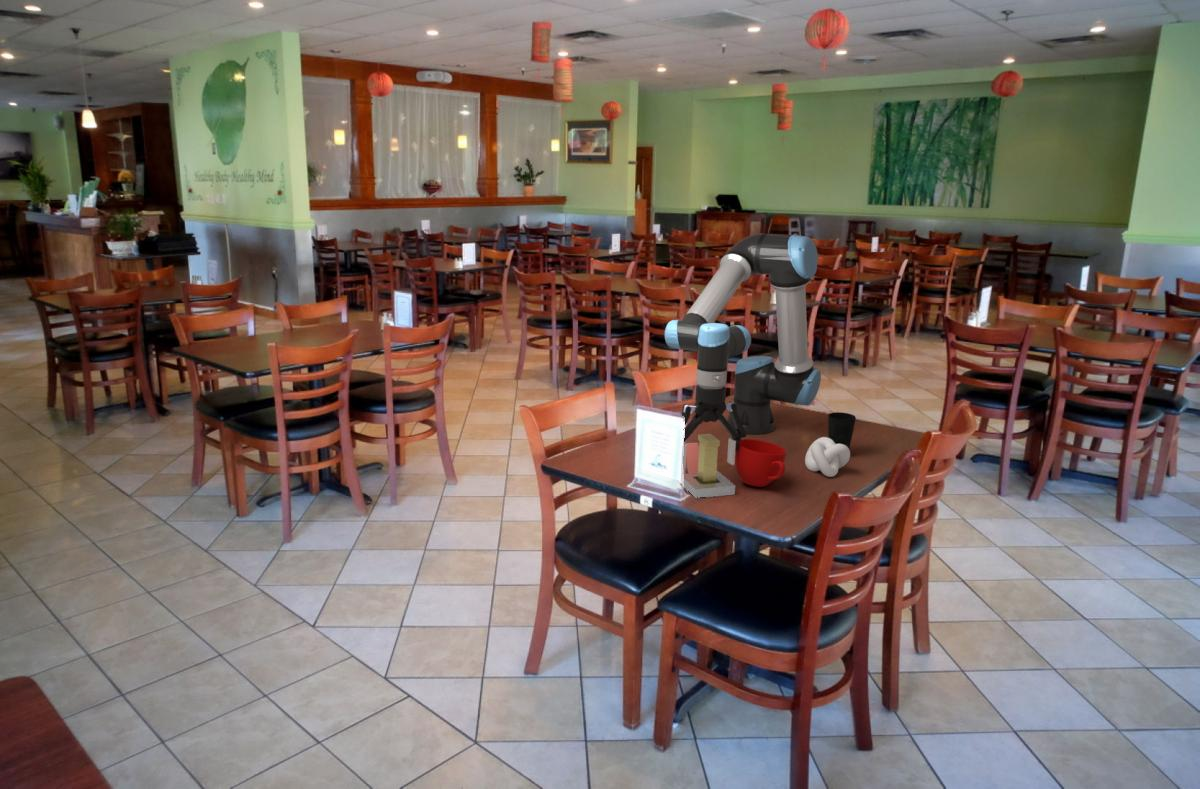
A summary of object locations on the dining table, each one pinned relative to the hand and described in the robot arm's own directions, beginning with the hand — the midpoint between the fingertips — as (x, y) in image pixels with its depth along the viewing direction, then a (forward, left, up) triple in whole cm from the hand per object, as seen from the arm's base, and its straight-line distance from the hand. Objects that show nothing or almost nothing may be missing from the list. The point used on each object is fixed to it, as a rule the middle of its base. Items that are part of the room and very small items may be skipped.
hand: (706, 465), depth 209 cm
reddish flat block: (-10, 0, -3) cm, 10 cm away
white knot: (-3, +37, -7) cm, 37 cm away
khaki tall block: (0, 0, -6) cm, 7 cm away
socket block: (0, 0, -6) cm, 6 cm away
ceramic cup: (+2, +14, -6) cm, 16 cm away
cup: (-15, +49, -7) cm, 51 cm away
